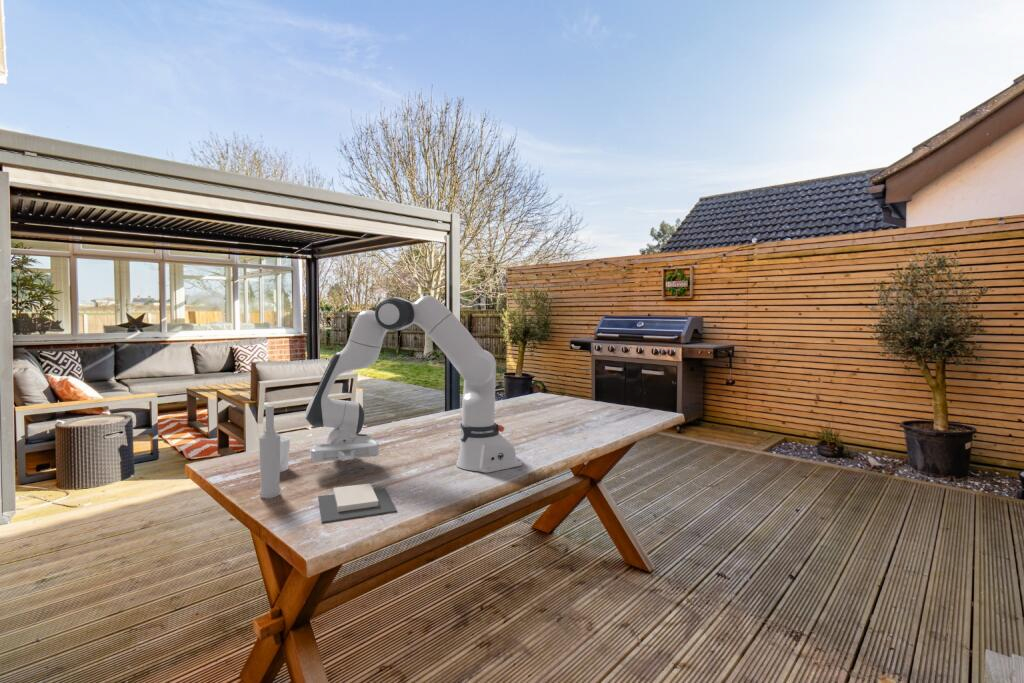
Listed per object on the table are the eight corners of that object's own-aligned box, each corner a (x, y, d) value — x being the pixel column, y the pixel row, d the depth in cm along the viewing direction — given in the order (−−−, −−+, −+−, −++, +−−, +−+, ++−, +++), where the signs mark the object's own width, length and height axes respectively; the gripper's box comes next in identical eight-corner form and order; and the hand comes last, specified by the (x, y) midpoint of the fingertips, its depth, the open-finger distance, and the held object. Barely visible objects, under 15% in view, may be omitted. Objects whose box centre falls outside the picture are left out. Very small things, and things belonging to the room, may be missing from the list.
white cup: (260, 474, 149) (259, 443, 148) (265, 466, 156) (265, 436, 156) (287, 473, 151) (287, 441, 150) (292, 465, 158) (291, 435, 158)
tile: (370, 483, 138) (378, 500, 125) (370, 488, 138) (378, 506, 125) (333, 487, 133) (337, 506, 121) (333, 493, 134) (337, 512, 121)
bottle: (275, 490, 136) (275, 403, 134) (284, 495, 132) (283, 405, 131) (256, 495, 132) (255, 405, 130) (264, 500, 128) (264, 408, 127)
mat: (384, 488, 139) (384, 487, 139) (396, 511, 123) (396, 510, 123) (318, 497, 131) (318, 496, 131) (321, 523, 115) (321, 521, 115)
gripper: (308, 439, 152) (310, 450, 139) (374, 434, 161) (382, 444, 148) (308, 458, 152) (310, 472, 140) (374, 452, 161) (381, 464, 149)
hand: (348, 457), depth 144 cm, fingers closed
